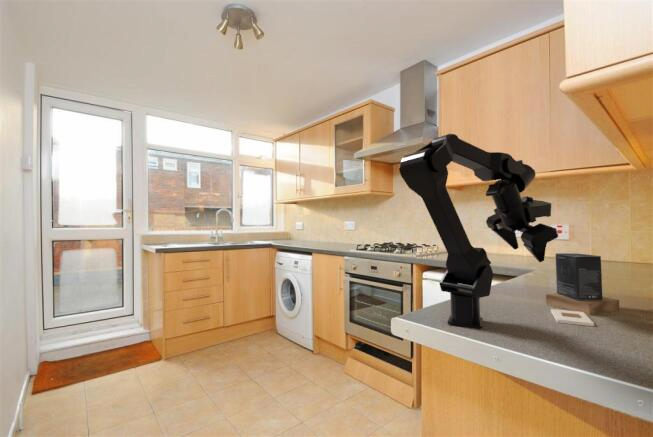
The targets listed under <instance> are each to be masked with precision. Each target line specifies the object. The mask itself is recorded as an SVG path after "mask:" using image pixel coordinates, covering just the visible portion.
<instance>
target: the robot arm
mask: <svg viewBox="0 0 653 437" xmlns="http://www.w3.org/2000/svg"><path fill="white" fill-rule="evenodd" d="M451 162H453V163H455V164H458V165H460V166H462V167H464V168H467V169H470V170H472V171H473V174H474V176H475V178H477V179H479V180H481V181H482V182H492V181H495V182H494V183H493V184H491V183H490V184H488V188H487V189H486V192H485V196H486V197H492V200H493V203H494V205H495V207H496V208H495V209H493V211H494V212H493V213H494V214H492V215H489V216H488V217H487V218H486V220H485V223H486V225H487V228H489V229H490V230H491V231H492V232H494V233H495V234H496V235H497V236H499V238H501V239H502V240H503V241H504V242H506V243H507V244H508V245H509V246H510V247H511V248H512V249H513V250H517V249H519V242H518V238H517V235H516V231H517V232H520V233H521V235H520V239H521V241H522V242H523V244H522V246H524V247H525V249H526V250H527V251H528V252H529V253H530V254H531V255H532V256H533V257H534V258H535V260H537V261H538V262H539V263H543V262H544V261H545V256H546V247H547V244H548V243H550V242H551V241H554V240H556V239H557V238H559V233H558V230H557V228H556V227H552V226H550V225H547V224H543V223H538V224H536V225H531V224H533V223H535V222H536V221H537V218H543V217H547V218H549V217H552V202H549V201H544V200H537V199H534V198H533V197H531V196H522V197H521V194H520V193H522V192H524V191H525V190H526V189H527V187H528V186H530V184H531V183H533V181H534V179H535V178H536V171H535V169H533V167H531V166H530V165H529V164H526V163H524V162H523V160H522V159H519V160H516V159H514V158H513V156H512V155H511V154H509V153H506V152H501V151H498V152H497V151H495V152H494V151H492V152H491V151H486V150H484V149H482V148H480V147H478V146H476V145H474V144H471V143H469V142H468V141H465V140H463V139H461V138H459V137H458V135H457V134H455V133H448V134H445V135H442V136H441V135H440V136H438V137H435V138H433V139H432V140H431V141H430V142H428V143H427V144H426V145H425V146H422V147H421V148H419V149H418V150H416V151H414V152H412V153H408V154H406V155H404V156H403V157H402V158H401V161H400V165H399V167H398V170H399V174H400V177H401V178H402V179H403V181H404V182H405V184H406V185H407V187H408V189H410V190H411V191H413V192H414V193H416V195H418V196H419V197H420V198H421V199H422V202H423V204H424V205H425V208H426V209H427V211H428V214H429V216H430V218H431V220H432V223H433V225H434V227H435V229H436V231H437V233H438V235H439V238H440V239H441V242H442V244H443V246H444V248H445V250H446V252H447V253H446V254H447V257H446V260H445V268H446V271H445V272H444V274H443V276H442V277H441V279H440V281H439V286H440V290H441V292H444V293H445V292H446V293H450V316H449V318H448V319H447V325H453V326H461V327H467V328H469V327H470V328H476V329H482V328H483V324H484V318H483V317H481V304H480V303H481V302H480V299H481V298H485V297H488V296H489V297H490V294H491V289H492V283H493V276H494V272H493V269H492V266H491V264H492V262H491V261H490V260H489V258H488V253H487V251H486V250H485V249H484V247H474V246H473V245H472V243H471V241H470V240H469V237H468V235H467V232H466V231H465V228H464V226H463V224H462V221H461V219H460V216H459V214H458V212H457V210H456V208H455V205H454V203H453V201H452V199H451V196H450V194H449V192H448V190H447V182H448V176H449V169H448V165H450V164H451ZM530 223H531V224H530Z"/></svg>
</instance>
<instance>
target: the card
mask: <svg viewBox="0 0 653 437" xmlns="http://www.w3.org/2000/svg"><path fill="white" fill-rule="evenodd" d="M550 312H551V314H552V316H553V317H554V319H555V321H556V323H561V324H569V325H579V326H585V327H595V323H594V322H593V320H591V318H589V315H588V314H585V313H584V312H578V311H572V310H568V309H557V308H556V309H555V308H550Z"/></svg>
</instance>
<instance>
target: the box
mask: <svg viewBox="0 0 653 437" xmlns="http://www.w3.org/2000/svg"><path fill="white" fill-rule="evenodd" d="M555 272H556V274H555V276H556V293H558V294H561V295H564V296H567V297H570V298H573V299H576V300H587V301H602V300H603V299H602V297H603V282H602V281H603V278H602V275H603V274H602V273H603V272H602V256H601V255H593V254H583V253H568V252H567V253H566V252H565V253H558V252H557V253H555Z"/></svg>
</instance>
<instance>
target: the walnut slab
mask: <svg viewBox="0 0 653 437" xmlns="http://www.w3.org/2000/svg"><path fill="white" fill-rule="evenodd" d="M602 299H603V300H602V301H587V300H576V299H573V298H570V297H567V296H564V295H561V294H558V293H557V292H555V293H547V294H545V304H546V305H547V306H548V305H549V306H553V307H557V308H561V309H563V310H568V311H578V312H584V313H585V314H586V315H587V316H589V315H590V316H592V315H597V314H604V313H611V312H619V311H620V299H617V298H611V297H606V296H602Z"/></svg>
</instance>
